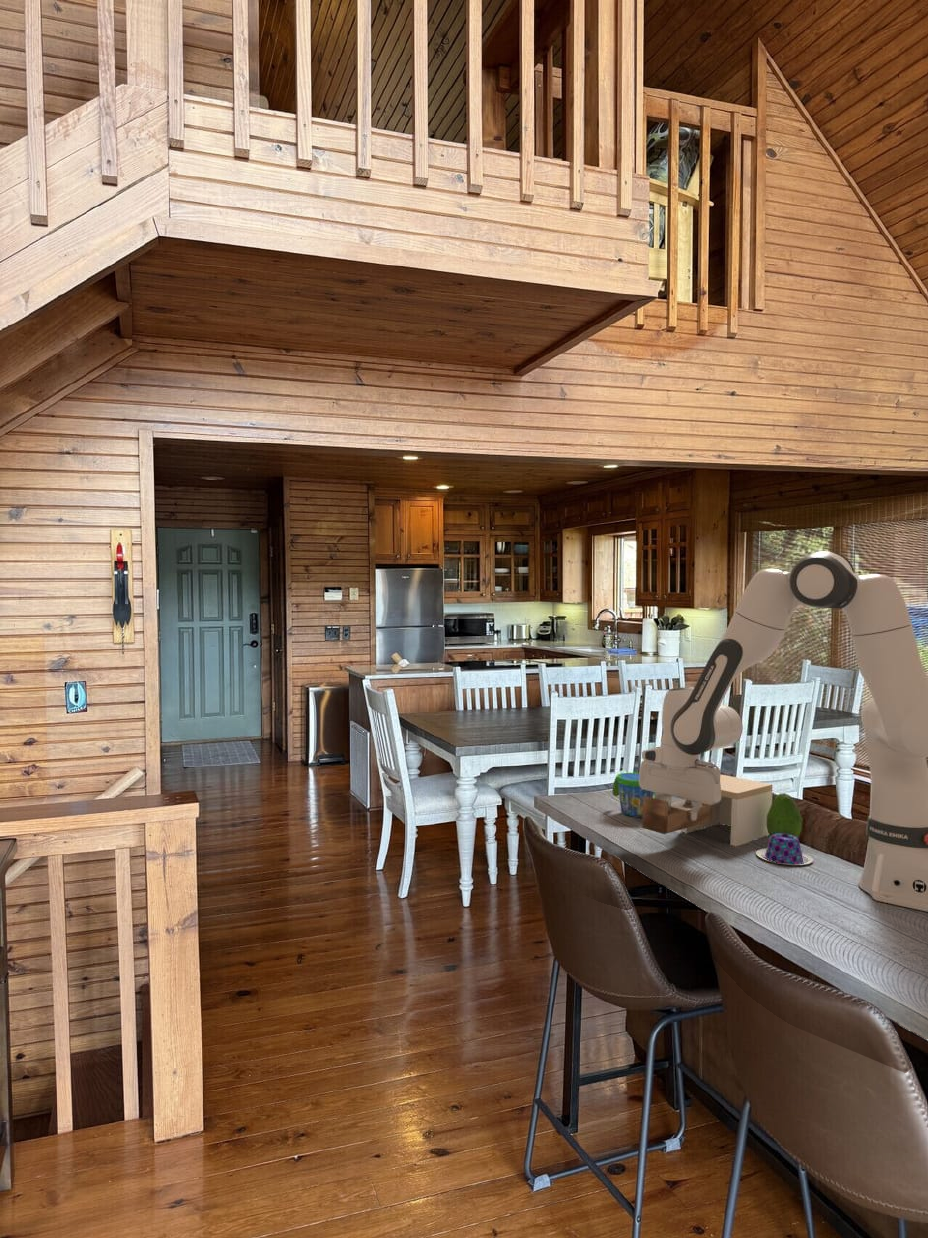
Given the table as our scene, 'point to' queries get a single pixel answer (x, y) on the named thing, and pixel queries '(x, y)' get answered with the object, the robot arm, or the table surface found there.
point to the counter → (741, 809)
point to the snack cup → (630, 793)
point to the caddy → (671, 814)
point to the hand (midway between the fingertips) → (677, 816)
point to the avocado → (784, 816)
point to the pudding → (784, 850)
